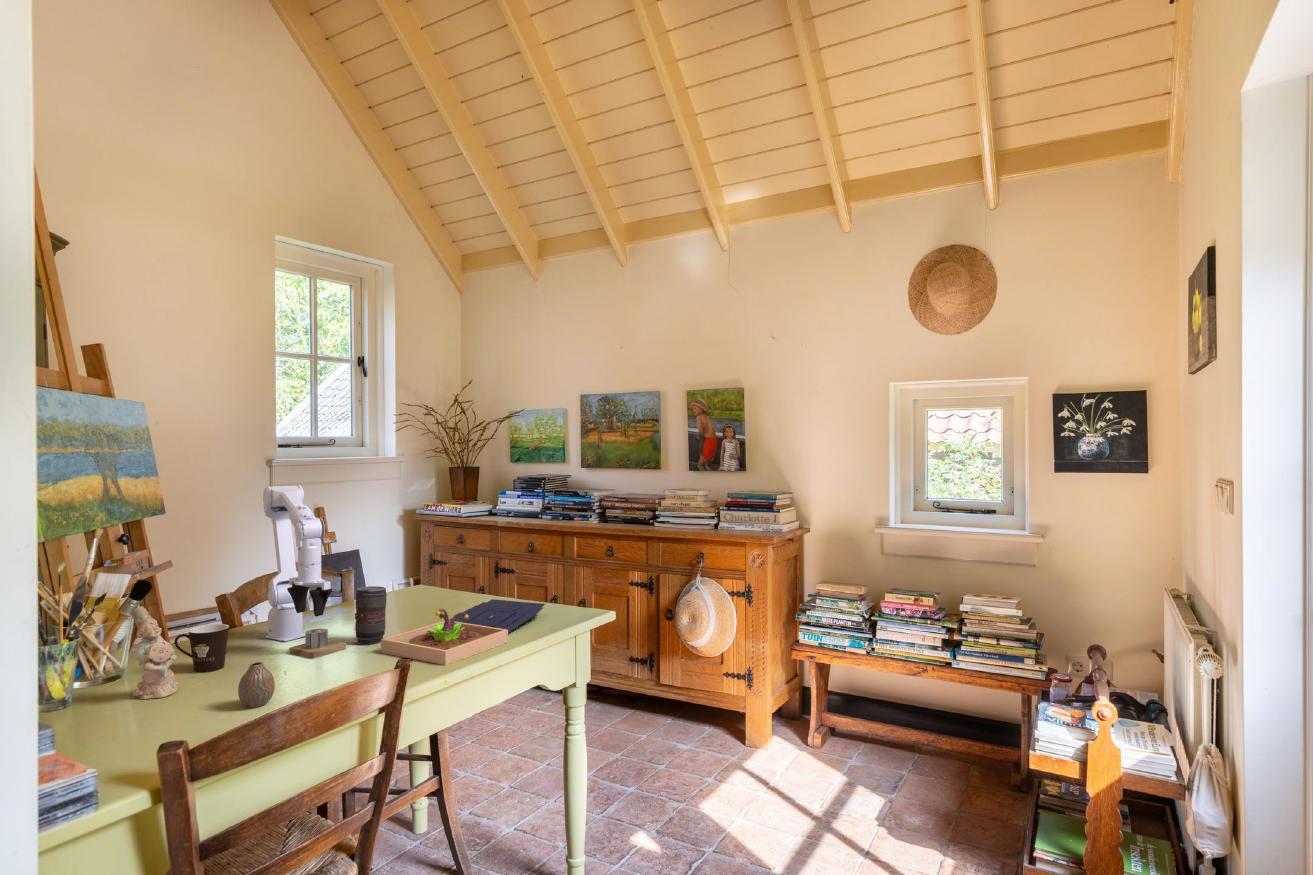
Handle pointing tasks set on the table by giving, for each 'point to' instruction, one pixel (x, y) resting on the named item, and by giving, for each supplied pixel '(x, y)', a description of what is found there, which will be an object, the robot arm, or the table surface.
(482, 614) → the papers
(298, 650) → the shaft stand
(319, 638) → the ring
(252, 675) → the vase
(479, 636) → the plant
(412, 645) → the tan flat square tray
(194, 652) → the coffee mug
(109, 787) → the table surface
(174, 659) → the figurine
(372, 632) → the camera lens
